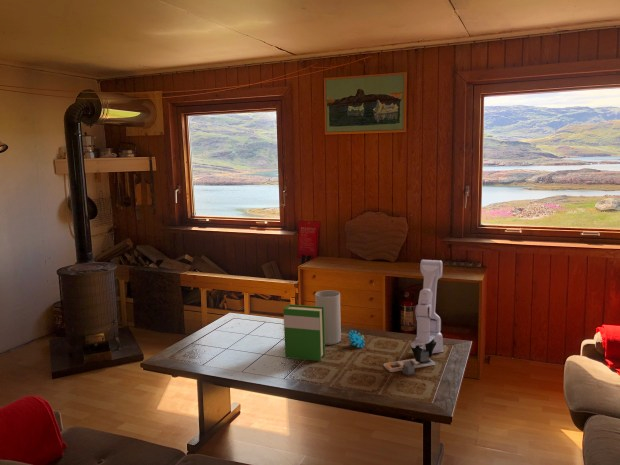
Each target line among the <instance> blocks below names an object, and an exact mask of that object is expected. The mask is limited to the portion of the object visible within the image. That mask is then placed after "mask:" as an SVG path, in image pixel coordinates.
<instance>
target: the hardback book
mask: <svg viewBox="0 0 620 465" xmlns="http://www.w3.org/2000/svg"><path fill="white" fill-rule="evenodd" d="M283 328H284V330H283V331H284V351H285V352H284V354H285V355H284V356H285V358H288V359H296V360H298V359H299V360H308V361H315V362H321V361H322V357H324V356H326V345H325V326H324V307H320V306H316V305H303V304H287V305H286V306H285V307H284V308H283Z"/></svg>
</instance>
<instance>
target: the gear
mask: <svg viewBox="0 0 620 465" xmlns="http://www.w3.org/2000/svg"><path fill="white" fill-rule="evenodd" d="M347 334H348V336H347V338H348V339H349V345H350V346H352V345H353V346H354V347H355V346H356V348H357V349H359V348H360V349H362V348H363V347H364V346H365V340H364V337H365V336H364V335H363V334H362V335H361V333H360V332H358V333H357V330H353V329H351V330H350V331H349V332H347ZM360 335H361V336H360Z"/></svg>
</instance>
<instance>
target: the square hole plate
mask: <svg viewBox="0 0 620 465" xmlns="http://www.w3.org/2000/svg"><path fill="white" fill-rule="evenodd" d="M408 362H409V363H411V364H413V365H414V369H418V368H424V367H431V366H436V362H435V361H434V360H432V358H431V357H429V362H428V363H422V364H421V363H420V362H417V361H415V358H411V359H405V360H404V359H403V360H398V361H397V360H396V361H390V362H386V363H383V367H384V368H385V369H386V370H387V371H388V372H390V373H395V372H399V371H400V372H401V371H403V364H405V363H408ZM394 366H397V367H394Z"/></svg>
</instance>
